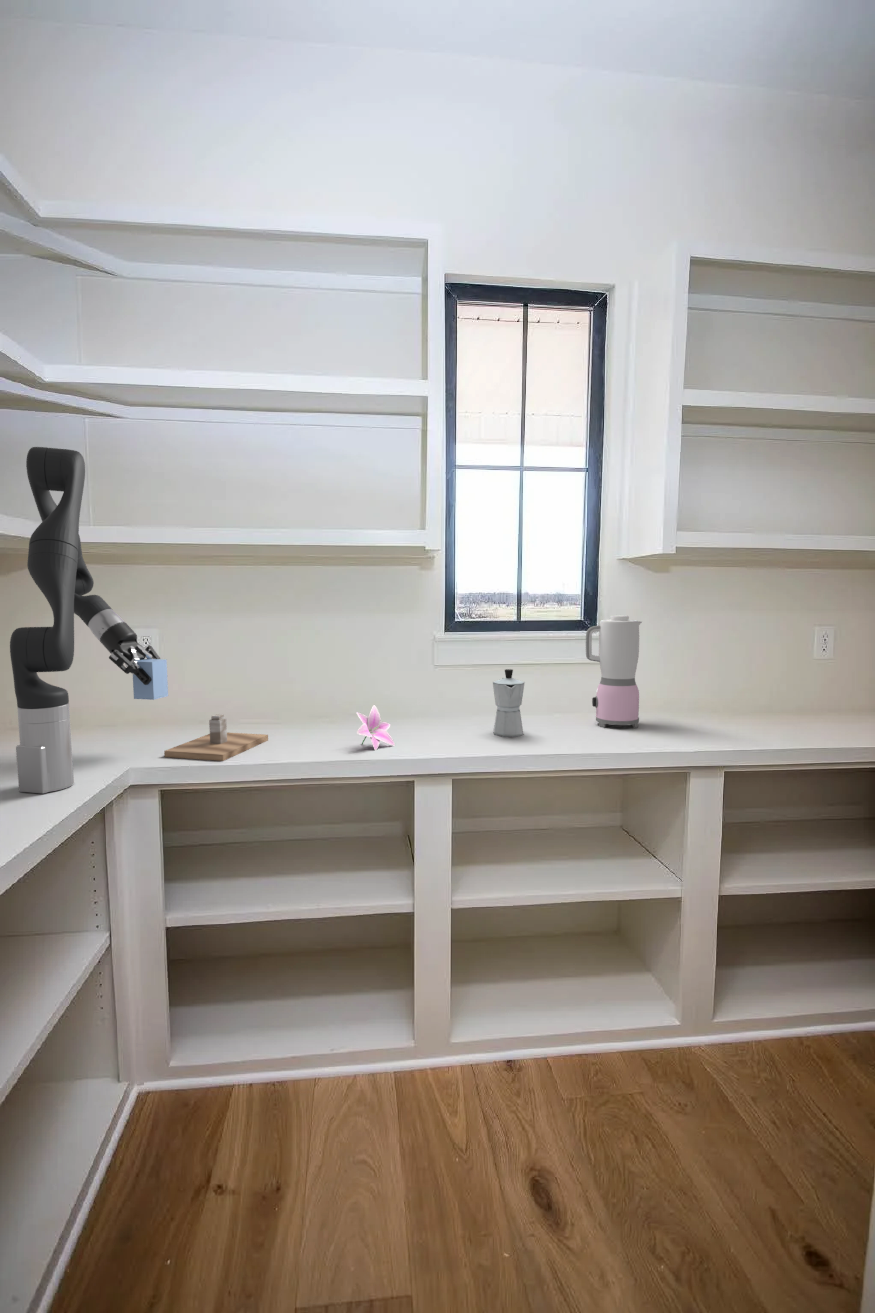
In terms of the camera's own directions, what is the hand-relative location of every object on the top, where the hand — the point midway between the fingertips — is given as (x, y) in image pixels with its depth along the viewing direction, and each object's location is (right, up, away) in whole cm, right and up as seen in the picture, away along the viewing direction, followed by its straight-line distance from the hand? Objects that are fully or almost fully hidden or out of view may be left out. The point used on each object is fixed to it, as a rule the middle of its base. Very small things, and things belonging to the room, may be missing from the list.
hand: (156, 680), depth 169 cm
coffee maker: (+89, -16, +23) cm, 93 cm away
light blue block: (-2, -4, +1) cm, 5 cm away
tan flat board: (+13, -17, +7) cm, 23 cm away
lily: (+53, -17, +8) cm, 56 cm away
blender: (+120, -14, +33) cm, 125 cm away
